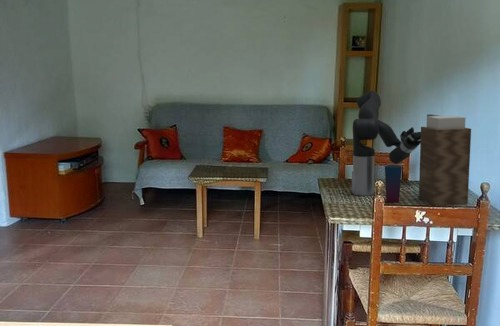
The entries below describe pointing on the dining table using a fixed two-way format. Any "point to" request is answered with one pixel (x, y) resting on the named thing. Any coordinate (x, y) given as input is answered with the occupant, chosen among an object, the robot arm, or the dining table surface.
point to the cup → (393, 182)
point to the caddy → (445, 122)
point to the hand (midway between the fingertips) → (422, 128)
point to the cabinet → (444, 166)
